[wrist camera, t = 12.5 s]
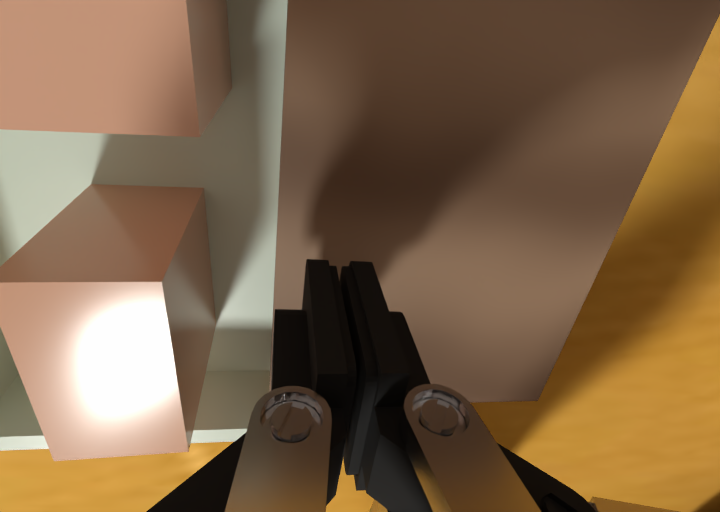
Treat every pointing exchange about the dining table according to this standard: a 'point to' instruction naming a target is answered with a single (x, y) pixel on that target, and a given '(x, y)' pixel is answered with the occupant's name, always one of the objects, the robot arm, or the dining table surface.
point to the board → (474, 162)
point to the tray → (223, 210)
